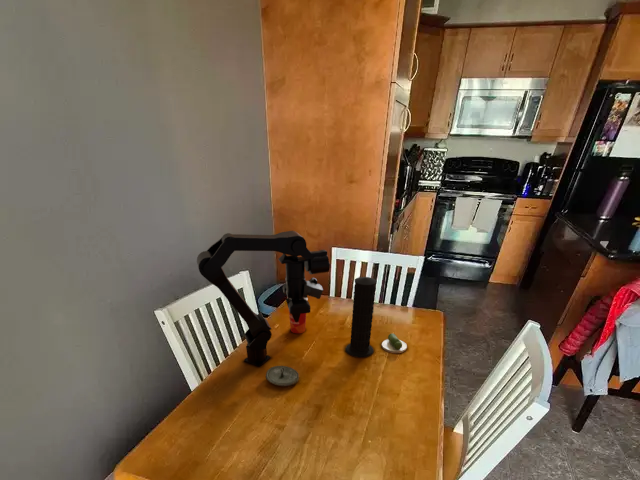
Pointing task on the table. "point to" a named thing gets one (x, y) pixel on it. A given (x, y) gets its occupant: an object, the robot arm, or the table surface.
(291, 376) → the lid
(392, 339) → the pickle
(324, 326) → the table surface
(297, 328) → the paper cup
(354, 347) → the handle grip
